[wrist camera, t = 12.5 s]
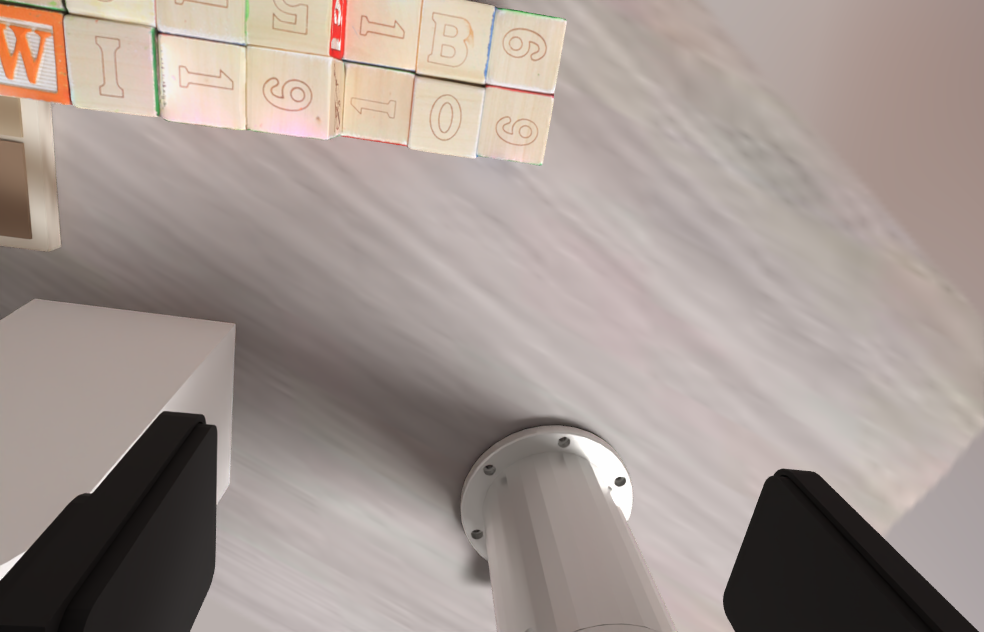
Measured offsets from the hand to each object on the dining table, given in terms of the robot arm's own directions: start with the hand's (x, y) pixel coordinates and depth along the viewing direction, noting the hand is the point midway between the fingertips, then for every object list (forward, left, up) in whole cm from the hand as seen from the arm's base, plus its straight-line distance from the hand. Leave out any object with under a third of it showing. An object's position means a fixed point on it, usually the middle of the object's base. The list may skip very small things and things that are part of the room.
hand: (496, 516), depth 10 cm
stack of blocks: (+7, +7, -29) cm, 30 cm away
